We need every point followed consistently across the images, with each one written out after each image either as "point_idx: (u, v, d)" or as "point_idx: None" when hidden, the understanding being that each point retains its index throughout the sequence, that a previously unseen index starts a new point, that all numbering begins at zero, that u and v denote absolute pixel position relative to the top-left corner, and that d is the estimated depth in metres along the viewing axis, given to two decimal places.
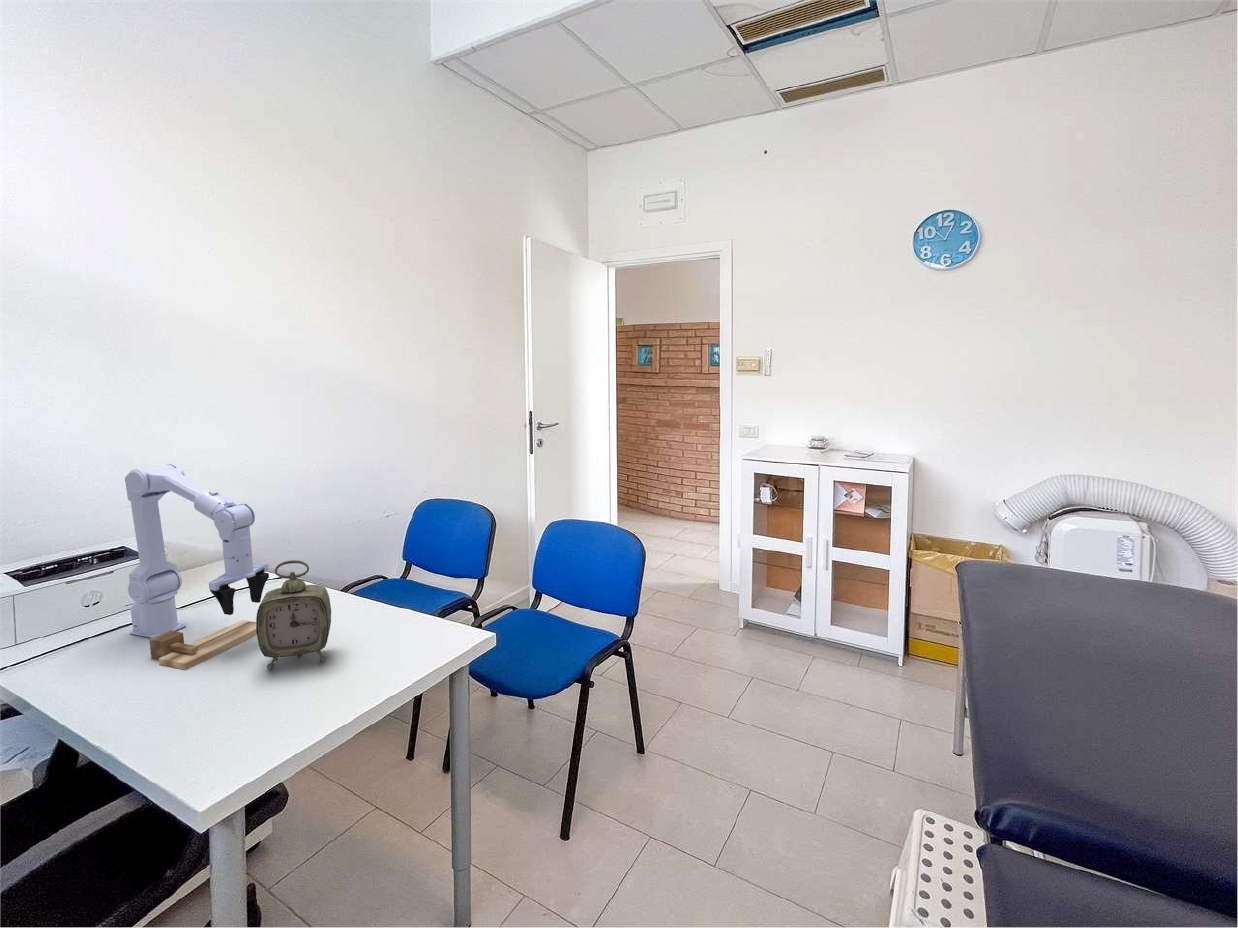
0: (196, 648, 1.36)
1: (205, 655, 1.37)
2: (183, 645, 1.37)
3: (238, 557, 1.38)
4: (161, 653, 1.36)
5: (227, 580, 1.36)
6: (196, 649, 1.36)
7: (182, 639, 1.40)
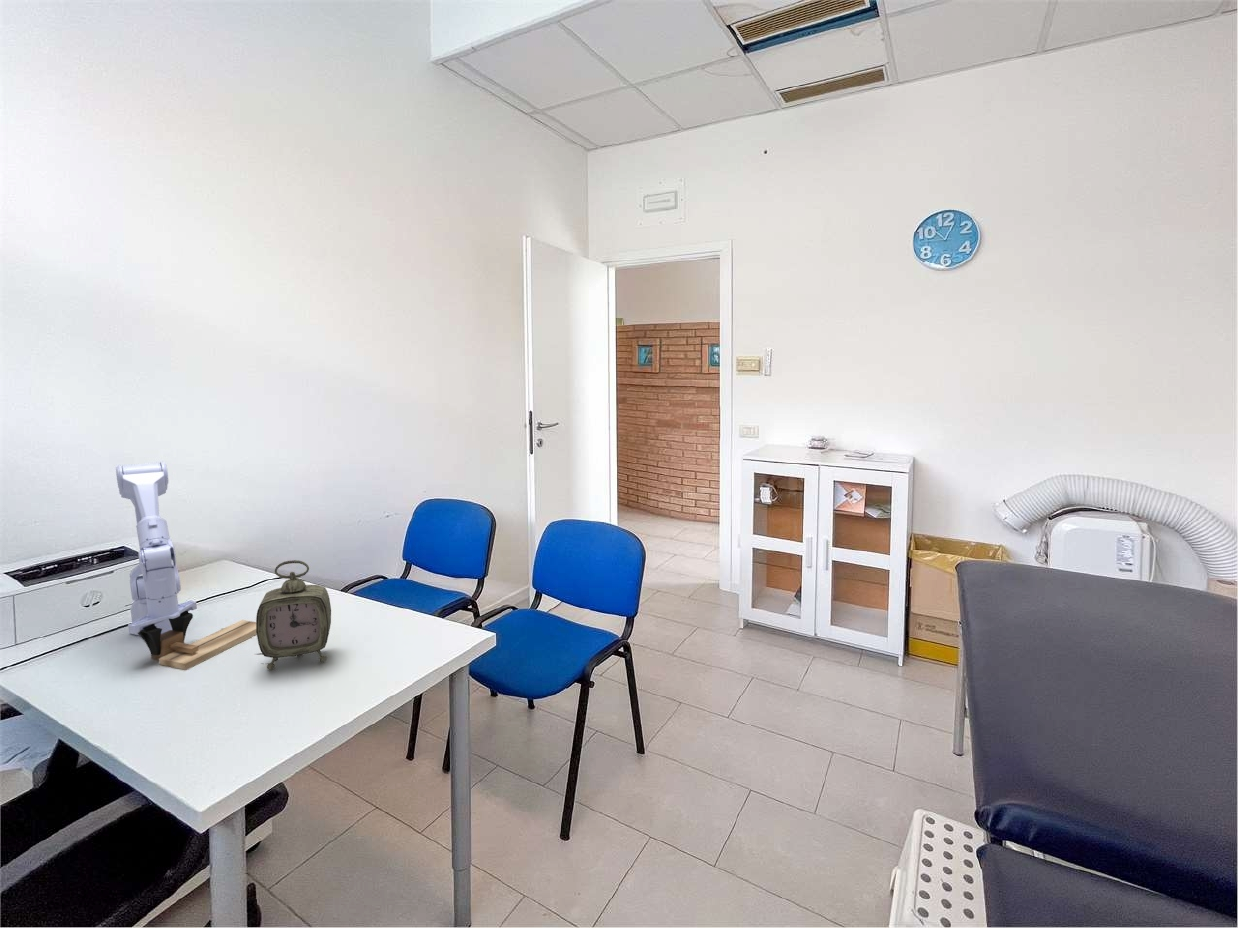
0: (196, 648, 1.36)
1: (205, 655, 1.37)
2: (183, 645, 1.37)
3: (160, 598, 1.34)
4: (161, 653, 1.36)
5: (148, 622, 1.32)
6: (196, 649, 1.36)
7: (182, 639, 1.40)
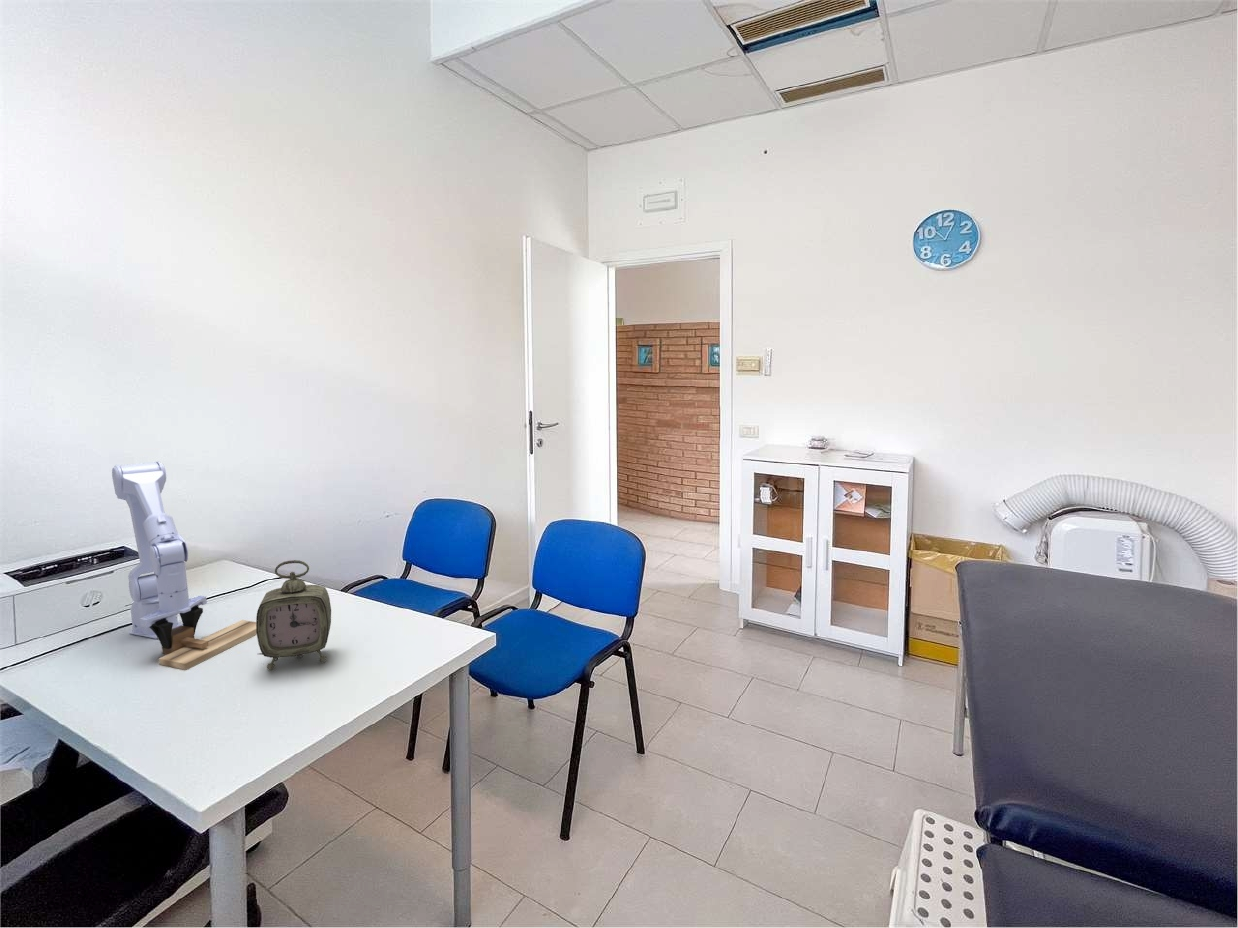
0: (206, 643, 1.39)
1: (205, 655, 1.37)
2: (193, 640, 1.39)
3: (172, 592, 1.36)
4: (172, 647, 1.38)
5: (160, 616, 1.35)
6: (206, 644, 1.39)
7: (193, 634, 1.42)
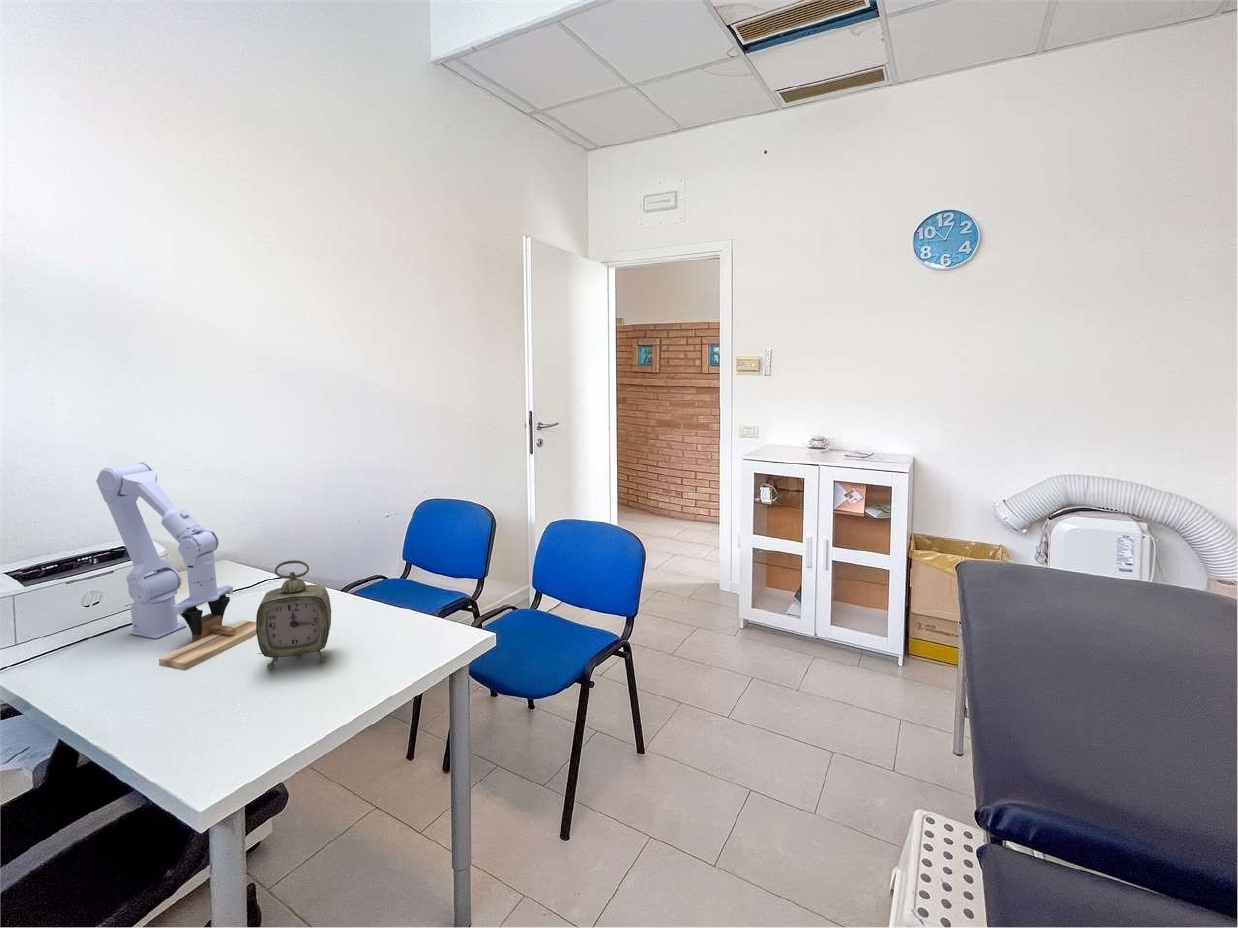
0: (234, 630, 1.46)
1: (205, 655, 1.37)
2: (222, 627, 1.46)
3: (202, 582, 1.43)
4: (202, 634, 1.45)
5: (191, 604, 1.42)
6: (234, 631, 1.46)
7: (220, 622, 1.49)
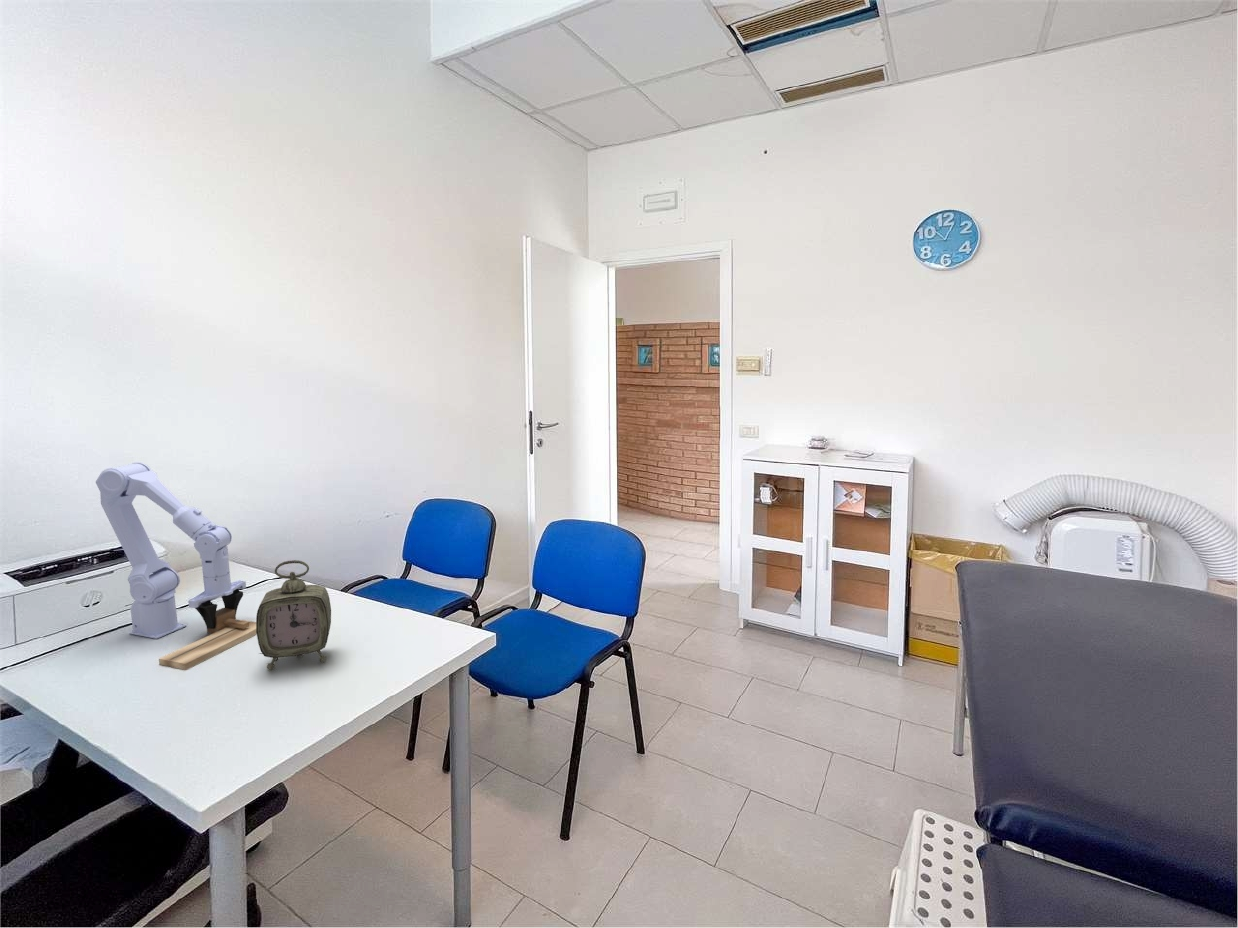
0: (247, 623, 1.50)
1: (205, 655, 1.37)
2: (235, 621, 1.50)
3: (216, 576, 1.47)
4: (216, 627, 1.49)
5: (206, 598, 1.45)
6: (247, 624, 1.50)
7: (234, 616, 1.53)
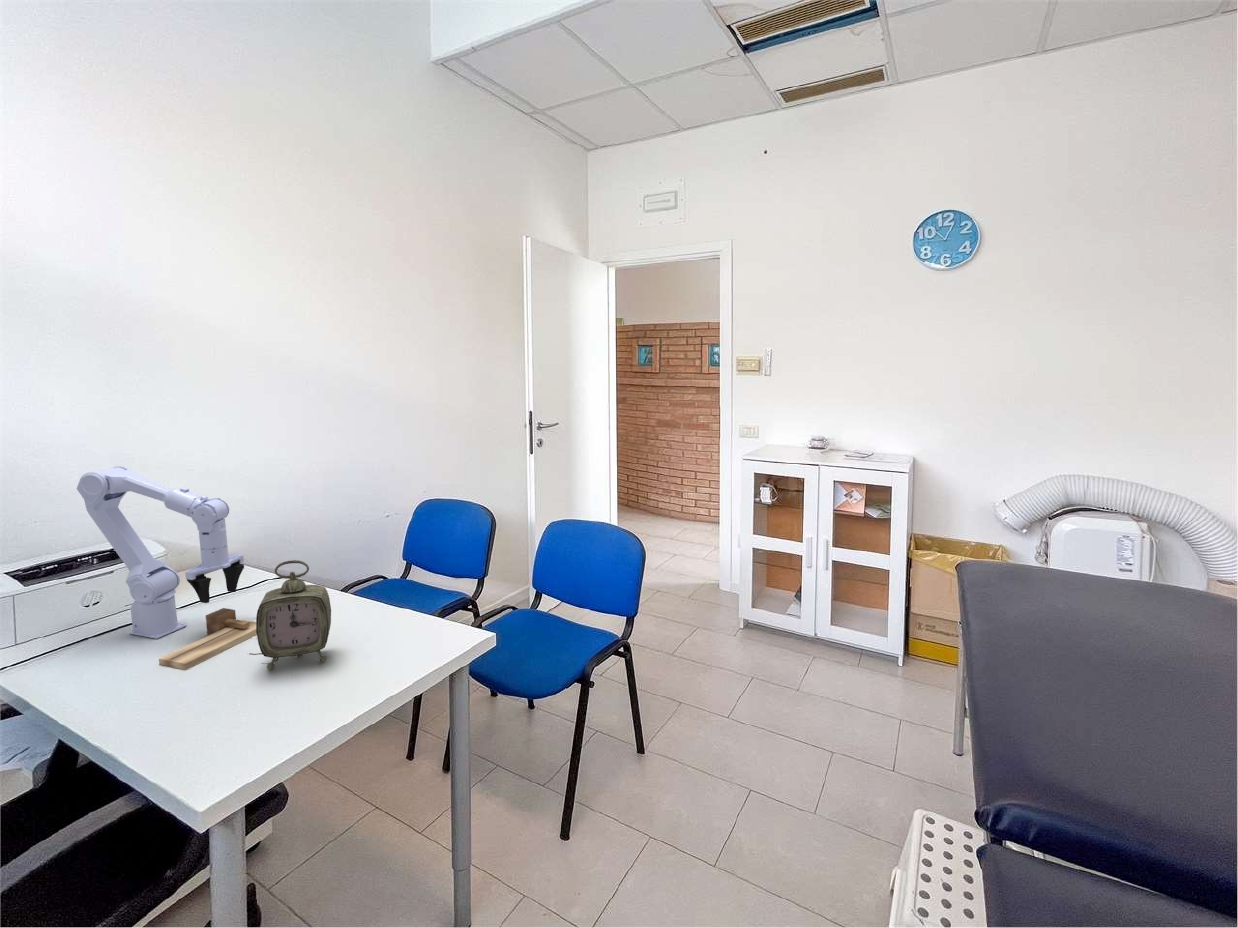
0: (248, 624, 1.50)
1: (205, 655, 1.37)
2: (236, 621, 1.50)
3: (214, 548, 1.46)
4: (216, 628, 1.49)
5: (203, 570, 1.44)
6: (248, 625, 1.50)
7: (234, 616, 1.53)
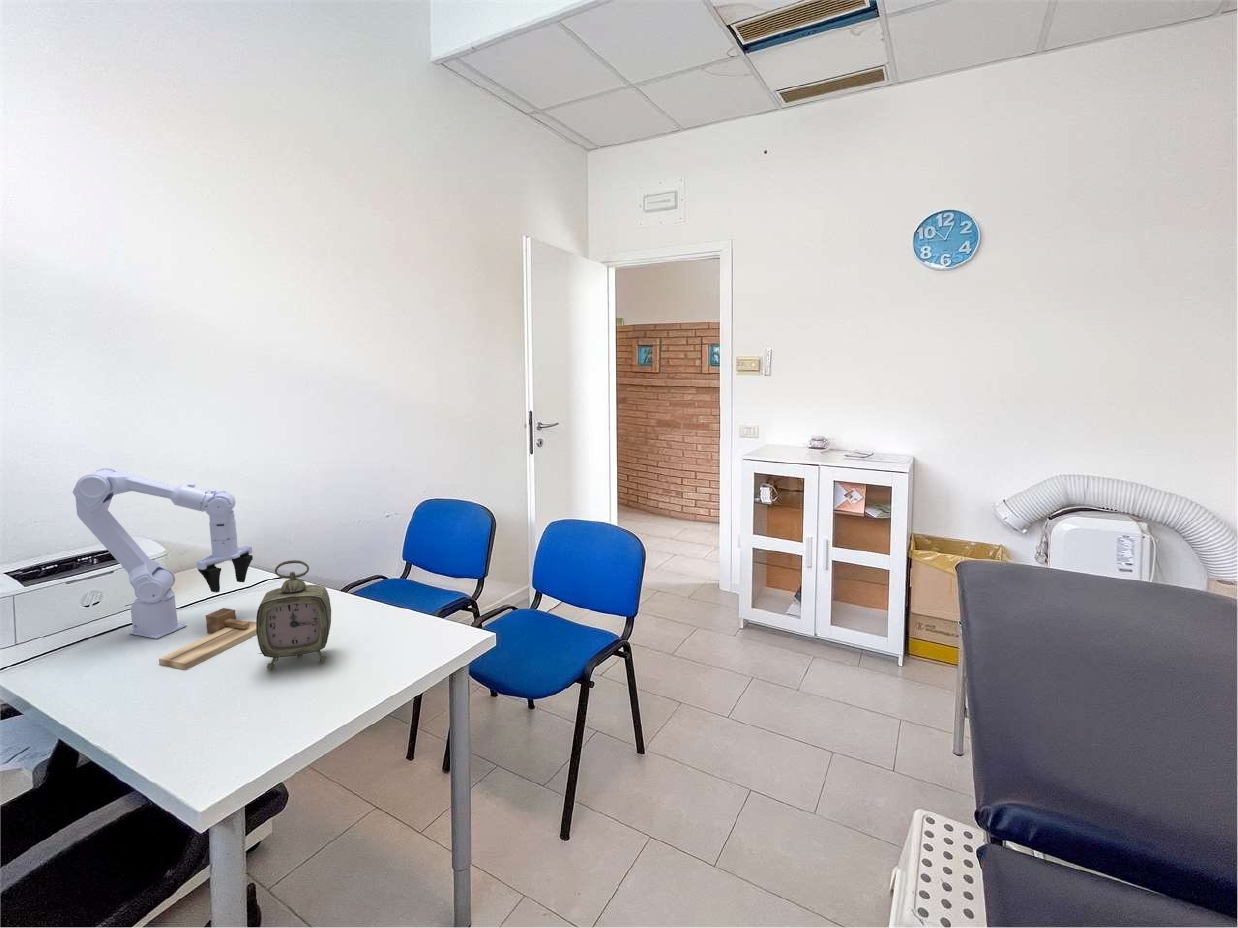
0: (248, 624, 1.50)
1: (205, 655, 1.37)
2: (236, 621, 1.50)
3: (224, 540, 1.51)
4: (216, 628, 1.49)
5: (214, 560, 1.50)
6: (248, 625, 1.50)
7: (234, 616, 1.53)
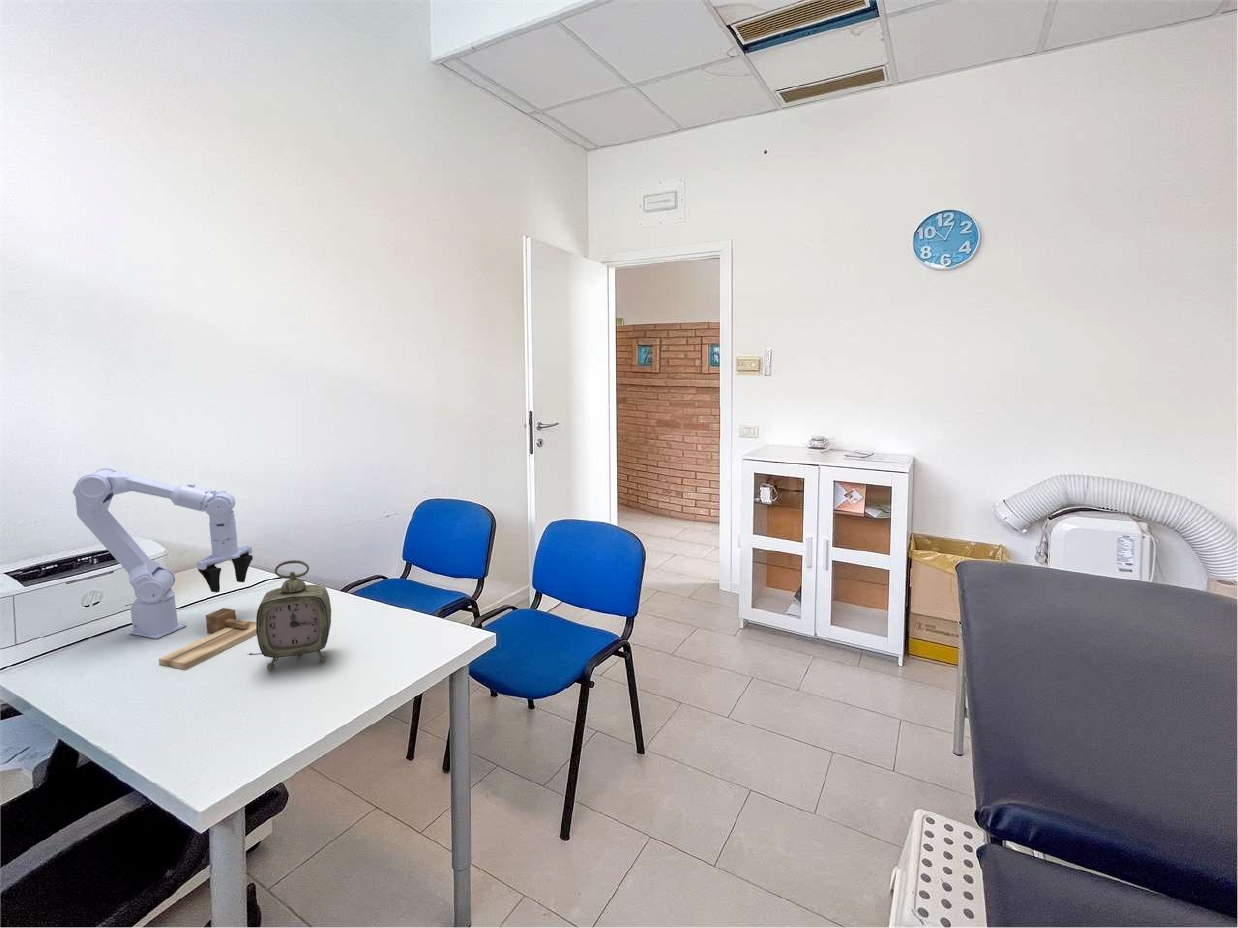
0: (248, 624, 1.50)
1: (205, 655, 1.37)
2: (236, 621, 1.50)
3: (224, 540, 1.51)
4: (216, 628, 1.49)
5: (214, 560, 1.50)
6: (248, 625, 1.50)
7: (234, 616, 1.53)
